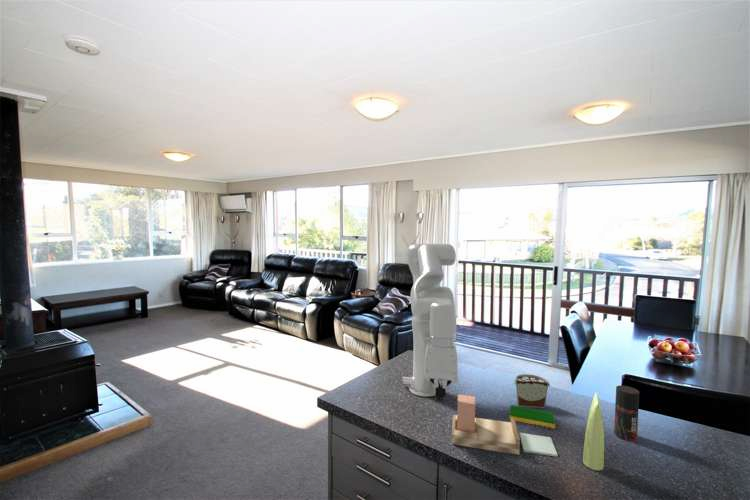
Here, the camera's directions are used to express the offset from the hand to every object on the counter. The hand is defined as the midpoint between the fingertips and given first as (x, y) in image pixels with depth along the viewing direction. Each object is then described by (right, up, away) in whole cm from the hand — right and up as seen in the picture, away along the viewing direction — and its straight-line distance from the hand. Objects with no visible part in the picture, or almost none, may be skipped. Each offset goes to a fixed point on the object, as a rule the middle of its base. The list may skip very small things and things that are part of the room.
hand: (440, 398), depth 112 cm
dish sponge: (+33, -12, +10) cm, 36 cm away
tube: (+39, -12, -15) cm, 44 cm away
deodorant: (+58, -12, 0) cm, 60 cm away
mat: (+28, -12, -6) cm, 31 cm away
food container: (+37, -11, +21) cm, 44 cm away
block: (+8, -5, -1) cm, 9 cm away
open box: (+13, -11, -2) cm, 17 cm away
